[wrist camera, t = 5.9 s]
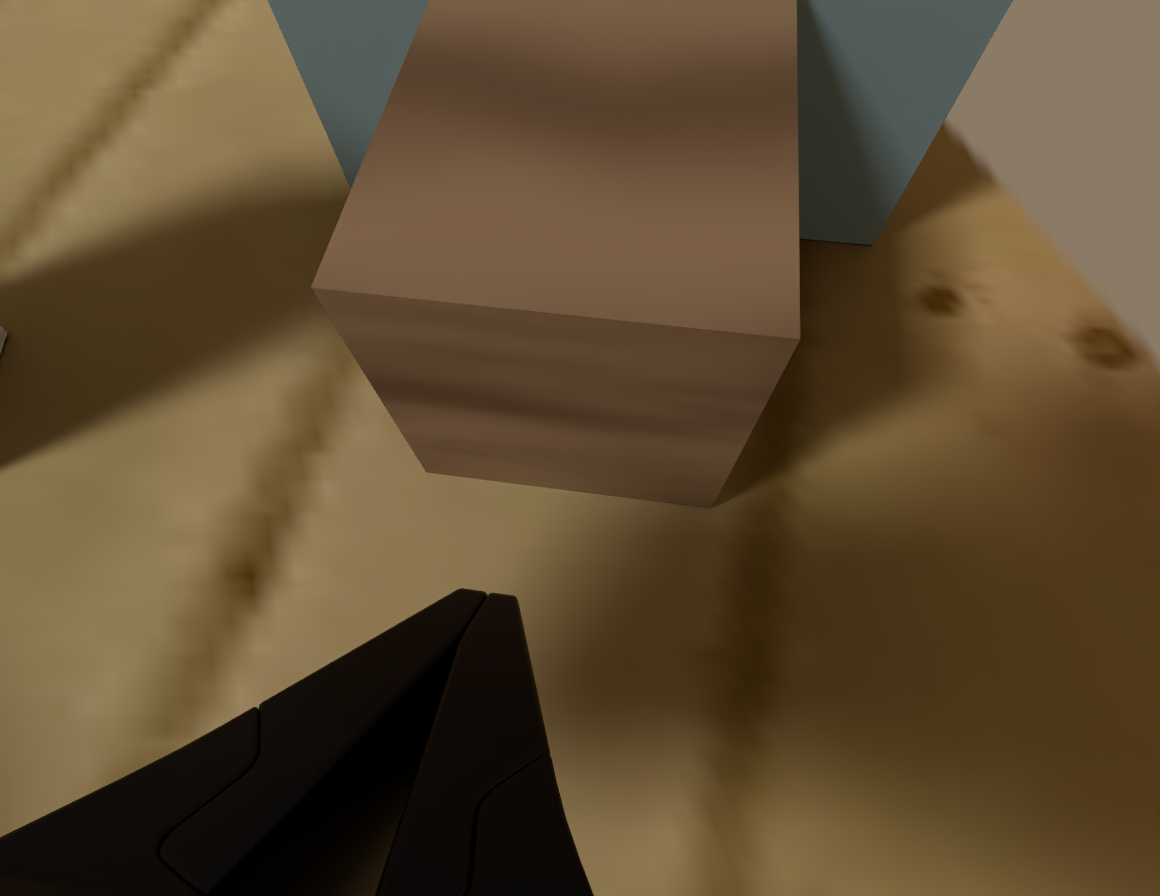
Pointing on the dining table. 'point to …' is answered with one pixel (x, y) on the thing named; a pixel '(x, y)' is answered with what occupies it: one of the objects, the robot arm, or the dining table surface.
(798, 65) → the slate board
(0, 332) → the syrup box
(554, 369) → the walnut block
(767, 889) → the dining table surface
